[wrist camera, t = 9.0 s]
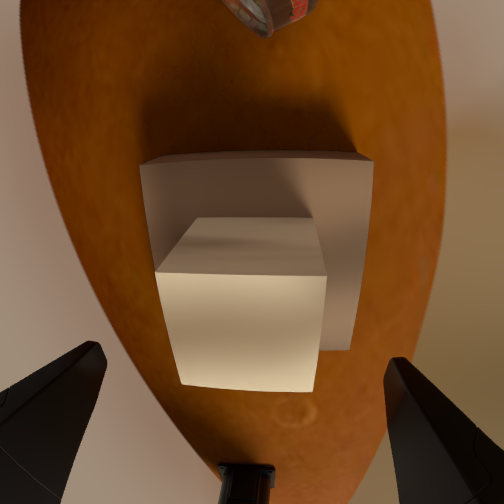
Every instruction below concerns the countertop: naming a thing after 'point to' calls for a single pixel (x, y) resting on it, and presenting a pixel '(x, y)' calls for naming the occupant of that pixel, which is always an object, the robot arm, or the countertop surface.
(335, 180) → the base
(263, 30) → the tin
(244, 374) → the block
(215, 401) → the countertop surface
